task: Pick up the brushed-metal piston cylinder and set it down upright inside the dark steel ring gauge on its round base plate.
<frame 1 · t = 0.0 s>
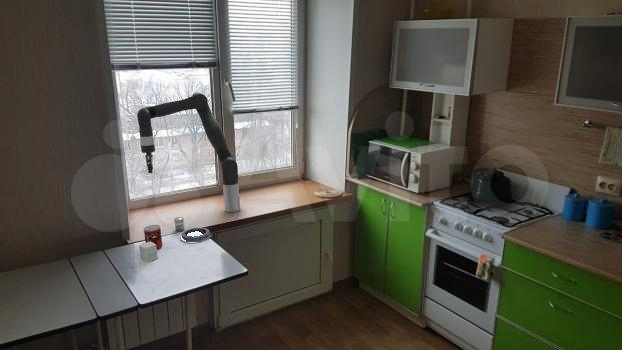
hand: (150, 171, 269), 29 cm above the table, fingers open, 8 cm apart
canned food: (154, 248, 236), on the table
ring gauge: (196, 236, 248), on the table
product box: (149, 259, 223), on the table
piston: (180, 230, 258), on the table
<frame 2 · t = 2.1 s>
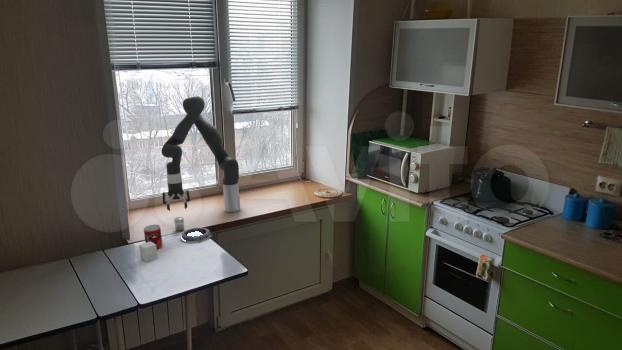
hand: (177, 209, 255), 12 cm above the table, fingers open, 8 cm apart
nothing on the table moved.
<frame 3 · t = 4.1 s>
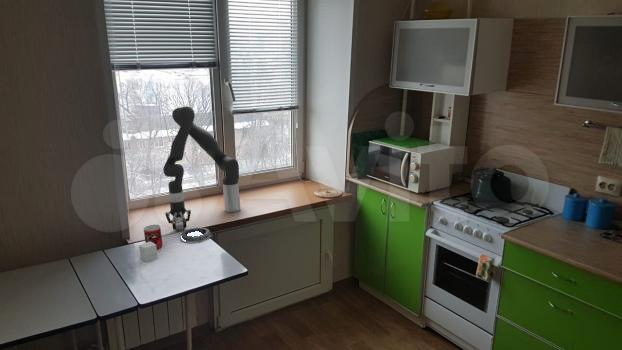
hand: (179, 228, 258), 1 cm above the table, fingers closed on piston, 4 cm apart
piston: (180, 230, 258), on the table, touching gripper
everything else where it was.
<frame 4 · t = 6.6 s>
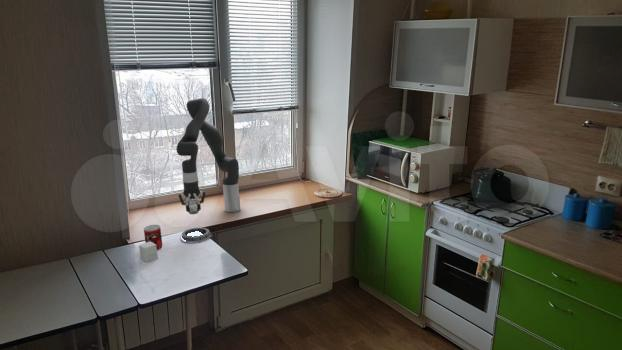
hand: (193, 211, 244), 15 cm above the table, fingers closed on piston, 4 cm apart
piston: (193, 212, 244), point 14 cm above the table, touching gripper
everything else where it was.
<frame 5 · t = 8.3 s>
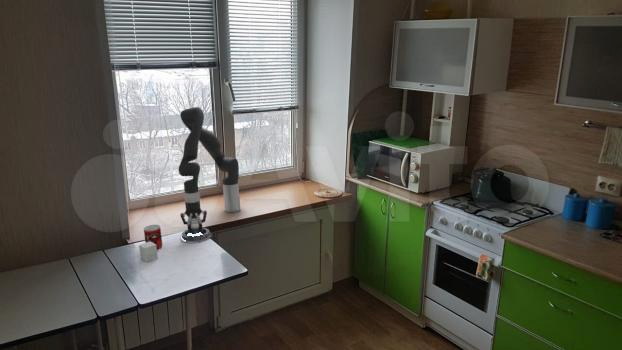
hand: (195, 230, 247), 4 cm above the table, fingers closed on piston, 4 cm apart
piston: (195, 231, 247), point 3 cm above the table, touching gripper
everything else where it was.
when the fingers open (2 cm above the table, at t = 9.5 s): piston stays where it is, resting on ring gauge.
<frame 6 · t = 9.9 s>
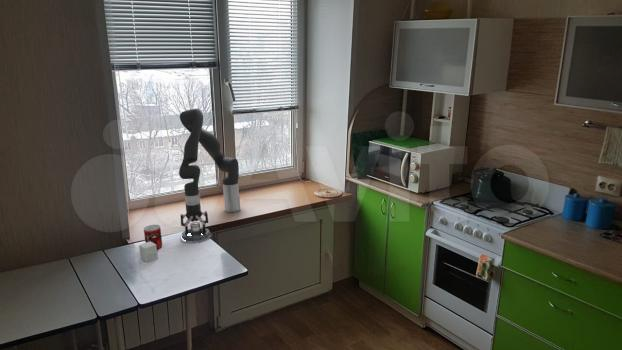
hand: (195, 231, 247), 3 cm above the table, fingers open, 8 cm apart
piston: (196, 235, 248), point 1 cm above the table, touching ring gauge
everything else where it was.
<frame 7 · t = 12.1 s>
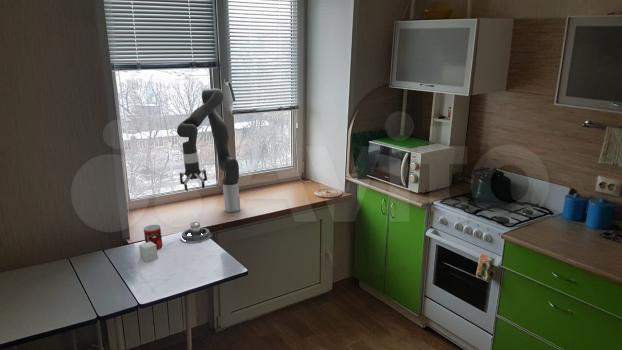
hand: (194, 189, 254), 23 cm above the table, fingers open, 8 cm apart
nothing on the table moved.
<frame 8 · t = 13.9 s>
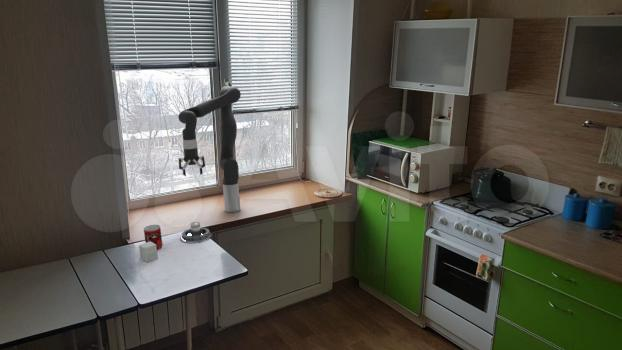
hand: (193, 175, 262), 28 cm above the table, fingers open, 8 cm apart
nothing on the table moved.
at the end: piston 0.2 cm from the ring gauge (horizontally); piston tilted 1°; piston point 0.6 cm above the table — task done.
